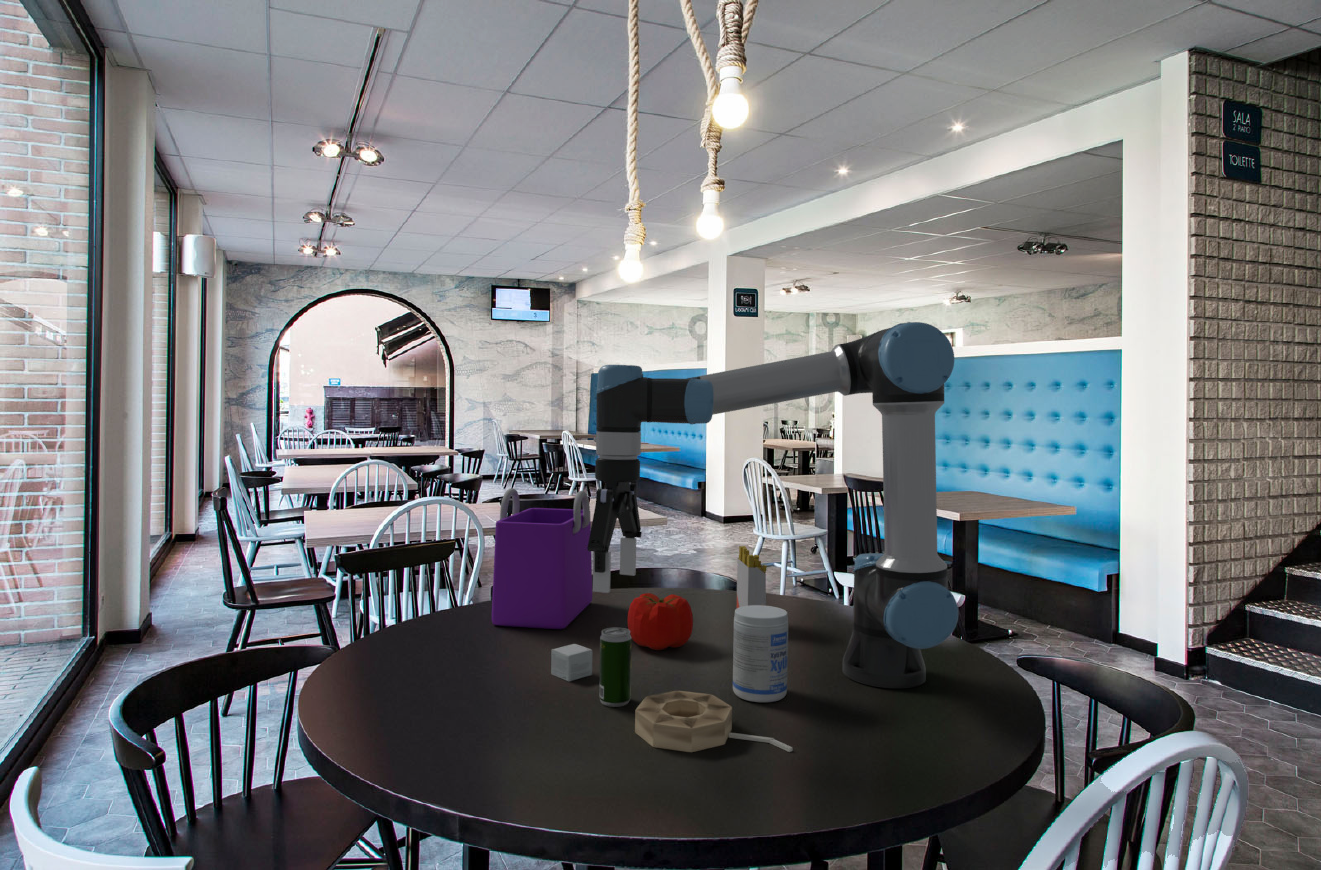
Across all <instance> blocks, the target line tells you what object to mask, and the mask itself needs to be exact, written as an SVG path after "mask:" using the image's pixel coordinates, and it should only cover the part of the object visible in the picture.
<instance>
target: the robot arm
mask: <svg viewBox="0 0 1321 870" xmlns="http://www.w3.org/2000/svg"><path fill="white" fill-rule="evenodd" d="M954 367H955V352H954V348H953V345H952V343H951V341H950V340H949V338H948V336H946V334H945V333H943V332H942V330H940V329H939V328H937V327H935V325H932V324H929V323H926V322H922V321H921V322H920V321H908V322H902V323H898V324H895V325H893V326H891V327H887V328H884V329H881V330H878V331H875V332H874V333H871V334H869V335H866V336H864V337H861V338H858V339H856V340H855V339H854V340H852V341H849V342H845V343H839V344H835V345H834V346H833V348H832V349H831V350H830V351H825V352H820V353H816V354H809V355H805V356H800V357H794V358H788V359H783V360H778V361H774V362H767V363H762V364H757V365H751V366H750V365H749V366H746V367H739V368H736V369H730V370H724V371H719V372H714V373H709V374H703V375H699V376H694V377H693V376H692V377H687V378H663V377H662V378H656V377H655V378H651V377H647V376H645V377H644V374H643V369H642V368H643V367H641V366H639V365H634V364H604V365H602V366H601V367H600V368H599V369H598V372H597V385H596V387H597V388H596V407H595V408H596V413H595V414H596V419H595V420H596V425H595V427H596V433H595V435H596V436H594V437H593V442H595V454H596V455H597V456H598V458H596V459H595V465H594V477H595V480H596V481H599V482H604V487H603V488H604V489H603V488H597V489H596V493H595V494H596V496H595V506H594V511H593V515H592V521H591V522H592V523H591V532H590V537H589V543H588V547H587V549H588V551H591V552H593V555H592V556H593V557H592V558H593V559H592V593H593V592H594V593H595V592H597V593H606V594H609V593H611V569H612V568H611V566H612V564H611V563H612V552H611V551H610V545H611V542H612V537H613V534H614V531H615V527H616V524H617V519H618V523H619V528H620V529H621V530H620V531H621V533H622V537H620V540H619V541H620V542H619V543H620V546H619V547H620V548H619V549H620V550H619V554H620V555H619V575H623V576H636V575H637V574H636V573H637V571H636V570H637V569H636V568H637V538H639V539H640V538H642V534H643V533H642V531H641V521H640V514H639V506H638V500H637V483H636V482H638V481H640V477H641V461H640V459H639V458H638V457H639V456H640V455H641V453H642V423H661V424H662V423H663V424H689V425H697V424H708V423H710V422H712V419H713V416H714V415H718V414H723V413H729V412H735V411H739V410H746V409H751V408H756V407H761V406H767V405H771V404H773V405H774V404H778V403H784V402H789V401H794V400H799V399H805V398H810V397H817V396H821V395H822V396H823V395H826V394H831V393H839V394H841V395H843V396H851V395H858V394H859V395H860V394H872V399H871V400H872V406H873V407H874V408H875V409H876V410H877V411H878V412H879V413H880V414H881V430H882V431H881V433H882V436H881V437H882V439H881V440H882V476H883V477H882V482H883V486H882V488H883V523H884V524H883V527H884V528H883V531H884V533H883V534H884V535H883V536H884V541H883V542H884V553H877V552H876V553H875V552H874V553H861V554H858V555H857V556H856V557H855V559H854V568H853V570H852V572H853V606H852V607H853V610H852V611H853V613H852V620H853V621H852V633H851V636H850V639H849V641H848V644H847V646H846V649H845V652H844V655H843V656H842V657H843V658H842V674H843V675H844V676H846V677H847V678H849V679H850V680H852V681H854V682H857V683H860V684H863V685H866V686H871V687H878V688H883V689H909V688H916V687H918V686H921V685H923V684H924V683H925V682H926V676H927V674H926V672H927V671H926V670H927V669H926V664H925V660H924V657H923V655H922V650H923V649H924V650H926V649H931V648H933V647H936V646H938V645H940V644H941V643H943V642H945V640H947V638H949V637H950V636H951V635H952V634H953V632H954V631H955V629H956V627H957V624H958V621H959V613H960V612H959V606H958V603H957V600H956V599H955V596H954V594H953V593H952V592H951V591H950V590H949V588H948V587H949V586H948V585H949V584H948V582H949V581H948V564H947V563H946V562H945V561H944V560H943V559H942V558H941V557H940V555H939V553H938V513H937V512H938V509H937V507H938V506H937V505H938V504H937V503H938V502H937V460H936V459H937V458H936V457H937V454H936V453H937V452H936V448H937V447H936V446H937V445H936V412H938V410H939V409H940V408H941V407H942V406H943V405H944V404H945V383H946V382H947V381H948V380H949V378H950V377H951V375H952V372H953V370H954Z"/></svg>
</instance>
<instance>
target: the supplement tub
mask: <svg viewBox="0 0 1321 870" xmlns="http://www.w3.org/2000/svg"><path fill="white" fill-rule="evenodd" d="M788 615H789V613H788V611H786V610H785V609H783V608H780V607H777V606H771V605H766V606H764V605H749V606H742V607H739V608H737V607H736V609H735V610H734V617H733V644H732V645H733V649H732V650H733V651H732V653H733V656H732V659H733V660H732V691H733V693H734V694H735V695H736V697H738V698H740V699H741V700H744V701H747V702H755V703H773V702H777V701H780V700H783V699H784V698H785V696H786V695H787V692H788V691H787V690H788V663H789V661H788V659H789V658H788V656H789V655H788V654H789V651H788V650H789V618H788V617H789V616H788Z"/></svg>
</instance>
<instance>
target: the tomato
mask: <svg viewBox="0 0 1321 870" xmlns="http://www.w3.org/2000/svg"><path fill="white" fill-rule="evenodd" d="M691 607H692V606H691V605H690V603H689V601H688V600H687V599H686V598H683V597H682V596H680V595H677V594H670V595H667V596H666V597H661V598H660V597H659V596H658V595H655V594H654V593H651V592H646V593H642V594H640V595H639V596H637V597H634V598H633V600H632V602H631V603H630V605H629V608H628V611H627V629H629V630H630V635H631V637H632V642H635V644H637V645H638V646H640V647H648V648H649V649H651V650H655V651H661V650H665V649H667V648H668V647H670V648H679V647H681V646H683V645H685V644H687V642H688V641H689V640H690V638H691V636H692V634H693V633H692V632H693V629H694V628H693V627H694V626H693V625H694V617H693V611H692V608H691Z"/></svg>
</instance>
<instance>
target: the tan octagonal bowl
mask: <svg viewBox="0 0 1321 870" xmlns="http://www.w3.org/2000/svg"><path fill="white" fill-rule="evenodd" d="M634 711H635V713H634V716H635V717H634V718H635V720H634V721H635V722H634V733H635V734H636V735H638V736H639V737H640V738H641V739H642V740H644V741H645V742H646V743H647V744H649V745H650V746H651V747H652V748H656V749H657V748H659V749H664V750H672V751H679V752H686V753H693V752H698V751H702V750H703V751H704V750H706V749H711V748H716V747H720V746H723V745H724V746H725V744H726V743H727V740H728V738H729V737H728V735H729V732H730V733H732V729H733V728H732V727H733V725H732V724H733V706H731V705H730V704H728V703H727V702H725V701H723V700H722V699H720V698H719V697H717V696H715V695H713V694H711V693H710V694H709V693H702V692H695V691H694V692H692V691H685V690H673V691H668V692H662V693H657V694H652V695H646V696H645V697H644V699H643V700H642V701H641V702H640V703H639V705H637V707H636V709H635V710H634Z"/></svg>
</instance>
